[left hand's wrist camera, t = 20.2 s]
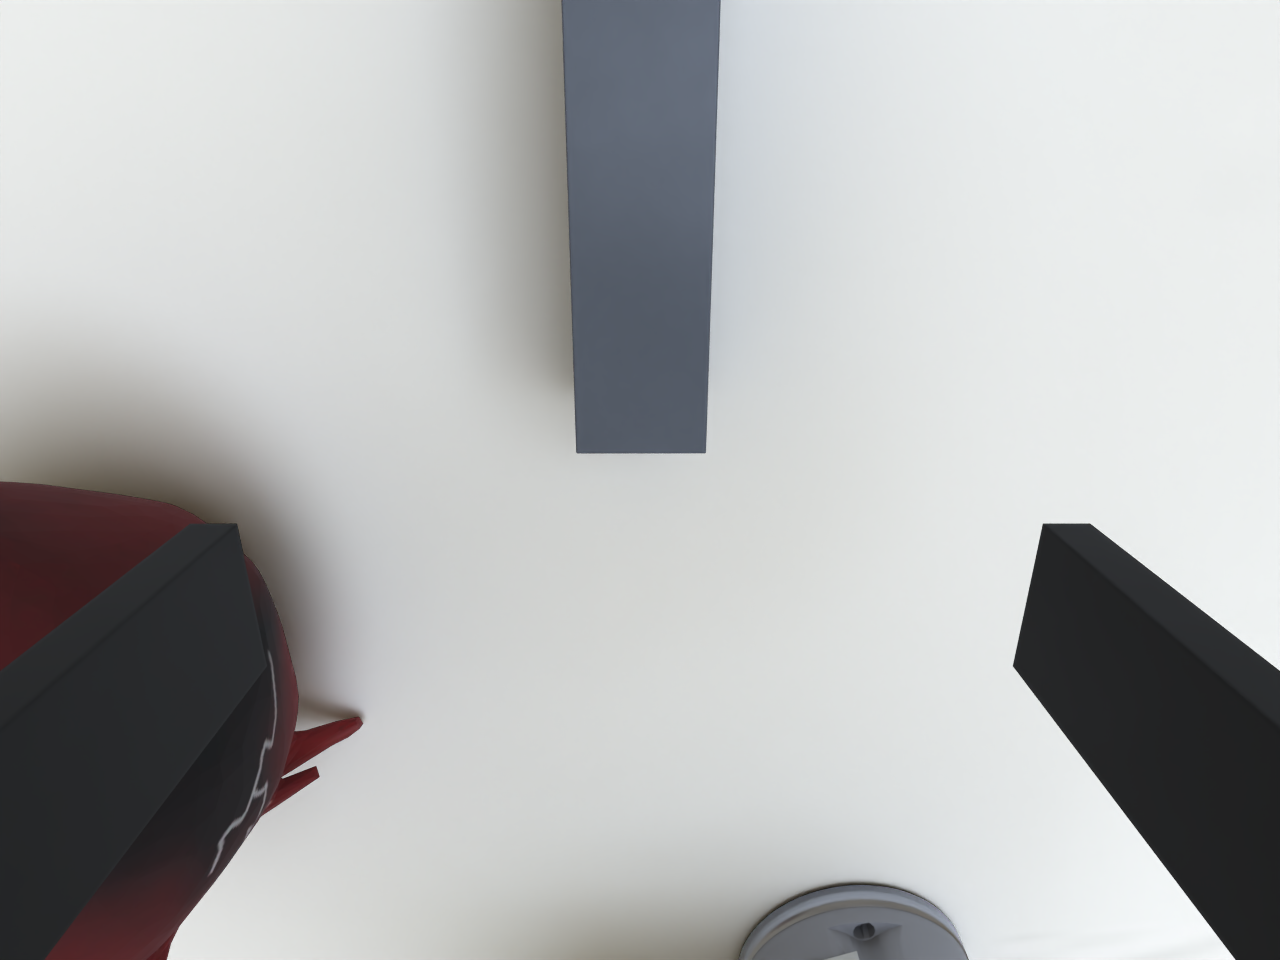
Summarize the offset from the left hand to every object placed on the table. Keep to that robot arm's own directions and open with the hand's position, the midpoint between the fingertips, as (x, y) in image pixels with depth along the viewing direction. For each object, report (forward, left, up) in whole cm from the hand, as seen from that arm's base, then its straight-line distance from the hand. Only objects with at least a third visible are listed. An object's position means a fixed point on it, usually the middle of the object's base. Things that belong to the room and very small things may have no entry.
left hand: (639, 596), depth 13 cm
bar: (+8, +7, -26) cm, 28 cm away
